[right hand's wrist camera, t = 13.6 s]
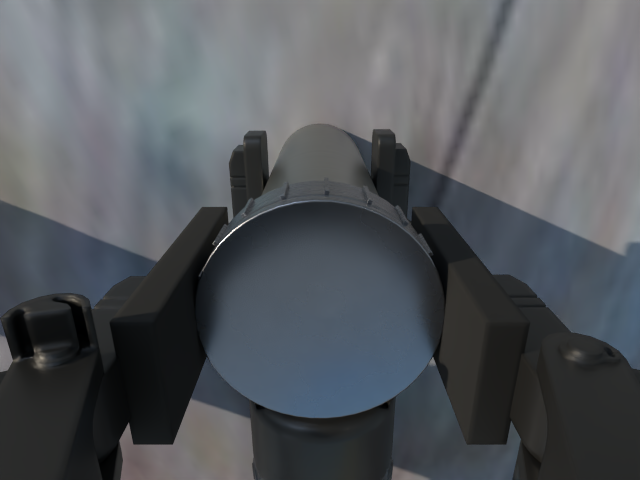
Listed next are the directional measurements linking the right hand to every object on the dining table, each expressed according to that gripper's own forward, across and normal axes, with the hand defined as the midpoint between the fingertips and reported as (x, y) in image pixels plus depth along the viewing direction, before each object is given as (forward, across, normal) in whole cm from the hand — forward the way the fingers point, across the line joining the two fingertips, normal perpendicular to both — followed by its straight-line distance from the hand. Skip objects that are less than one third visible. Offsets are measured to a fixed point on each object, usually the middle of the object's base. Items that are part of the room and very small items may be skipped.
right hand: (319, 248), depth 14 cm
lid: (-4, 0, 0) cm, 4 cm away
